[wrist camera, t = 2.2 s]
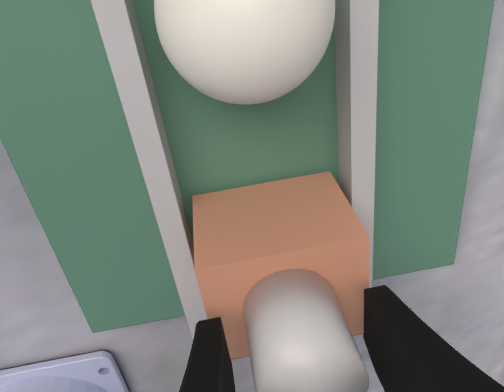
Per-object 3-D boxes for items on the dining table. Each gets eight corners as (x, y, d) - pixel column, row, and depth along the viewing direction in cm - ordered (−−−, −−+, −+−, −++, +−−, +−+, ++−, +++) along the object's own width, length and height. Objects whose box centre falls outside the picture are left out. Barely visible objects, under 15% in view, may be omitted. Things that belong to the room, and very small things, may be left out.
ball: (314, 64, 14) (361, 114, 10) (177, 87, 14) (174, 146, 10) (305, -101, 12) (362, -115, 8) (140, -76, 11) (119, -78, 8)
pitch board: (442, 249, 20) (472, 287, 18) (96, 315, 20) (86, 362, 17) (556, -616, 9) (677, -794, 7) (-287, -530, 8) (-459, -698, 6)
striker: (333, 256, 18) (407, 419, 12) (212, 279, 18) (226, 456, 12) (330, 171, 16) (418, 317, 10) (192, 196, 16) (197, 360, 10)
